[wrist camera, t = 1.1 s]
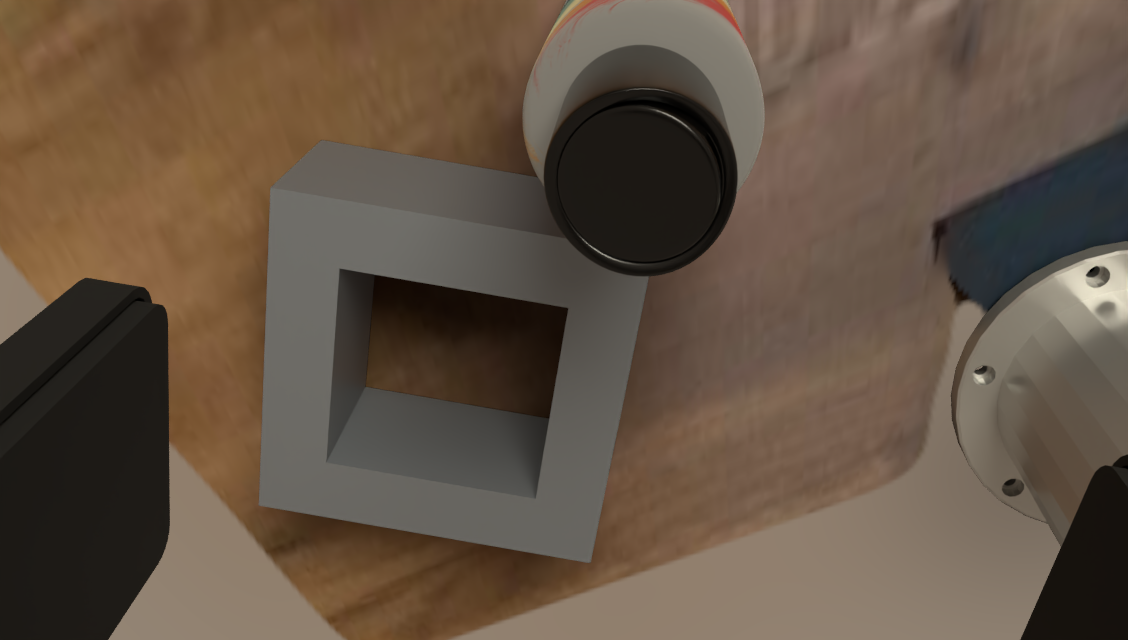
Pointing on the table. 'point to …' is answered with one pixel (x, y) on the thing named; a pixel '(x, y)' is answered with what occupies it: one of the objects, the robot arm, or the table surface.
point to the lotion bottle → (643, 128)
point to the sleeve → (419, 424)
